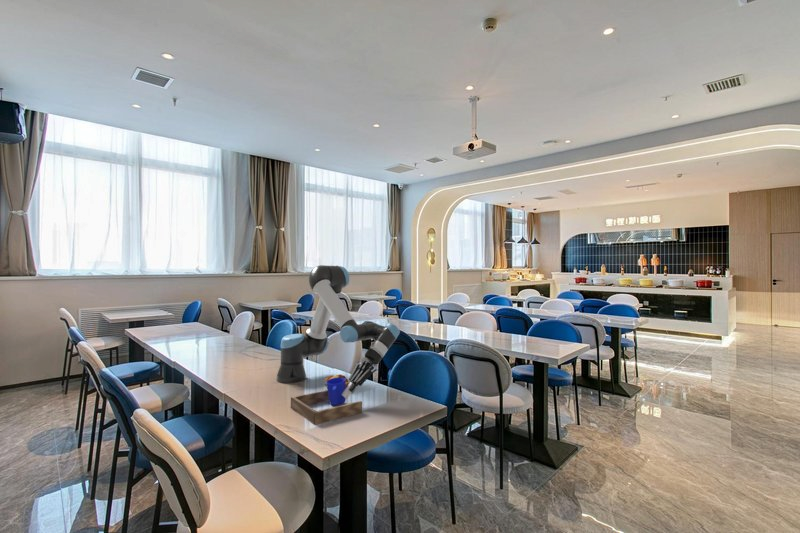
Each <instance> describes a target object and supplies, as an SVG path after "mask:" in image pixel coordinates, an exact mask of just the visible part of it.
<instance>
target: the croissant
mask: <svg viewBox="0 0 800 533" xmlns="http://www.w3.org/2000/svg"><path fill="white" fill-rule="evenodd" d="M333 378H344V379H345V384H346V387H347V386H348V384H349V383H350V381H349V378H348V379H347V377H346V376H345V375H343V374H335V375H332V374H331V375H329V376H326V378H324V385H325V386H326V387H327V383H326V382H327V381H328V380H330V379H333Z"/></svg>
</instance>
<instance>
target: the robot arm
mask: <svg viewBox="0 0 800 533" xmlns="http://www.w3.org/2000/svg"><path fill="white" fill-rule="evenodd" d="M349 282H350V274H349V271H348V269H346V267H344V266H341V265H324V264H323V265H321V264H320V265H317V266H315V267H313V269H312V270H311V271H310V273H309V275H308V284H309V287H310V289H311V290H312V291H313V294H315V295H317V296H318V297H319V298H318V302H317V305H316V309H315V312H314V314H313V318H312V321H311V324H310V327H309V328H307V329H306V332H305V334H304V333H303V334H302V333H292V334H287V335H284V336H283V337H282V338H281V341H280V365H279V367H278V368H279V369H278V371H277V374H276V381H277V382H278V383H283V384H285V383H286V384H288V383H289V384H293V383H299V382H303V381H305V380H306V379H307V373H306V370H305V366H304V358H307V357H308V358H309V357H313V356H314V357H315V356H319V355H322V354H323V353H325V352H327V350H328V347H329V337H328V335H327V333H326V331H327V327H328V324H329V321H330V318H331V317H332V318H333V320H334V321H335V322H336V324H337V326H338V327H339V328H340V331H339V336H340V339H341V341H342V342H344V343H347V344H348V343H355V342H359V341H360V342H361V341H367V340H374V341H373V342H372V344H371V345H370V346H369V348H368V349H367V350H366V352H365V353H364V358H363V359H362V360H361V361H357V362H356V364H355V367H354V368H353V370H352V372H351V374H350V376H349V377H348V382H349V384H348V386H347V387H346V389H345V390H344V392H343V393H342V394H341V395H342V396H343V397H344V398H345V399H346V400H347V399H348V398H349V397H350V395H351V394H352V393H353V392H354V390H355V389H356V387H361V386H362V385H363V384H364V383H365V382H366V381H367V380H368V379H369V378H370V377H371V375H372V374H374V373H375V372H376V371H377V369H376V366H378V365H379V364H380V362H381V361H382V359H383V358H384V356H386V353H387V352H388V351H389V349H390V347H392V346H393V344H394V342H395V341H396V340H397V338H398V337H399V335H400V334H401V331H400V329H399V327H398V326H397V325H395V324H394V323H392V322H388V323H387V324H386V325H381V324H378V323H376V322H374V321H371V320H365V321H363V322H362V323H360V324H359V323H357V322H356V320H355V319H354V317H353V316H352V315H351V312H350V311H349V310H348V308H347V307H346V306H345V305H344V303H343V302H342V300H341V299H340V297H339V296H338V295H339V294H341V293H342V290H343V288H345V287H347V286H348V285H349Z"/></svg>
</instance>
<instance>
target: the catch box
mask: <svg viewBox="0 0 800 533" xmlns="http://www.w3.org/2000/svg"><path fill="white" fill-rule="evenodd" d="M324 402H330V400H329V395H328V389H324V390H320V391H315V392H311V393H305V394H300V395H296V396H295V395H294V396H291V397H290V408H291V410H293V411H295V412H296V413H297V414H299V415H300V416H301V417H303V418H305V419H306V420H307V421H309V422H310V423H311V424H313V425H320V424H323V423H327V422H330V421H335V420H339V419H341V418H347V417H350V416H355V415H358V414H362V413H363V401H362V400H358V401H355V402H349V403H346V404H345V403H344V404H341V405H335V406H333V407H329V408H324V409H319V410H316V409H314V408H313V407H311V406H310V405H314V404H320V403H324Z"/></svg>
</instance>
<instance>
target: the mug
mask: <svg viewBox="0 0 800 533" xmlns="http://www.w3.org/2000/svg"><path fill="white" fill-rule="evenodd" d="M326 383H327V386H326V387H327V389H326V390H328V395H329V403H330V405H332V406H341V405H344V404H345V403H346V400H347V399H345V398H344V397H343V396H342V395H341V394H342V393H343V392H344V390H345V389H346V384H345V379H344V378H333V379H330V380H328V381H327V382H326Z"/></svg>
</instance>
